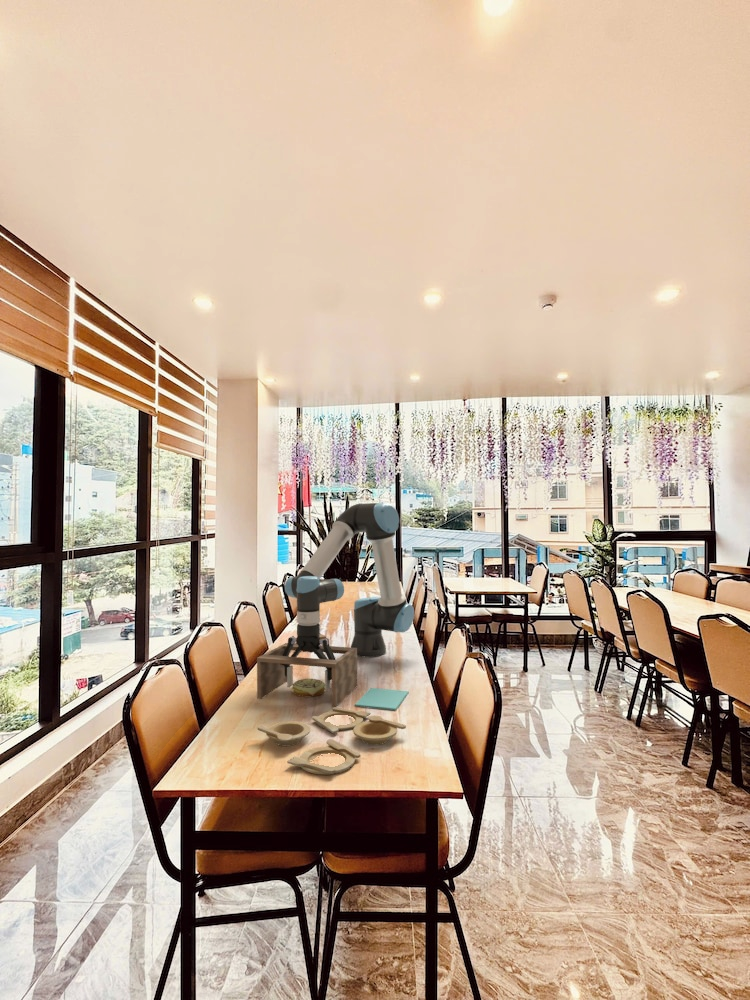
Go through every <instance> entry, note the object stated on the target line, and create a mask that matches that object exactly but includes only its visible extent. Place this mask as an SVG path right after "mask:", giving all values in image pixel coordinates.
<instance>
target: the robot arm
mask: <svg viewBox="0 0 750 1000" xmlns="http://www.w3.org/2000/svg"><path fill="white" fill-rule="evenodd" d="M399 524H400V517H399V513H398V511H397V509H396V507H395V506H394V505H392V504H391V503H387V502H385V503H384V502H372V503H371V502H370V503H368V502H367V503H356V504H353V505H351V506H349V507H348V508H346V509H345V510H344V511H343V512H342V513H341V514H340V515H339V516H337V518H336V519H335V520H334V521H333V523H332V526H331V527H332V528H331V530H330V531H329V533H328V534H327V535H326V537H325V538H324V539H323V541H322V542H321V543H320V545H319V546H318V548H317V549H316V550H315V551H314V553H313V554H312V556H311V557H310V559H308V561H307V563H306V564H305V565H304V566H303V568H302V569H301V571H300V572H299V573H298V575H297V576H291V577H289V578H287V579H286V580H285V583H284V592H285V594H286V595H287V596H288V597H289V598H294V599H296V623H297V625H296V635H297V636H296V637H295V636H294V635H291V636H290V637H288V639H287V643H288V645H287V647H286V649H285V651H284V653H283V655H282V656H289V657H299V654H301V652H303V653H306V652H307V653H311V654H312V653H314V655H316V656H317V659H327V660H336V657H335V653H333V652H332V650H331V648H330V639H329V638H327V637H326V639H322V640H320V637H319V636H320V633H321V629H320V626H321V624H320V622H321V617H320V615H321V614H320V607H321V605H320V604H322V603H324V604H325V603H328V602H334V601H337V600H340V599H341V598H342V597H343V596H344V593H345V586H344V584H343V581H341V579H338V578H330V579H326V578H325V579H323V578H322V577H323V576H324V574H325V573H326V572H327V570H328V568H329V567H330V566H331V564H333V562H334V560H335V558H336V557H337V556H338V554H339V553H340V551H341V550H342V549H343V548H344V546H345V544H346V543H347V542H348V540H351V539H353V538H354V536H355V535H356V534H359V533H365V537H366V540H368V541H369V542H370V544H371V548H372V555H373V560H374V566H375V572H376V577H377V583H378V588H379V589H378V590H379V594H380V596H370V597H363V598H358V599H356V600H355V601H354V607H353V614H354V615H353V618H354V619H353V622H354V623H353V626H354V635H353V638H352V641H351V645H350V648H357V657H362V656H365V658H367V657H368V658H371V657H379V656H382V655H385V654H386V653H387V646H386V643H385V640H384V637H383V633H382V631H386V632H387V631H388V632H394V633H406V632H408V631H409V630H410V628H411V626H412V625H413V621H414V617H415V609H414V606H413V605H412V604H410V603H407V598H406V595H404V594H403V593H402V587H401V583H400V577H399V571H398V564H397V558H396V553H395V547H394V541H393V539H394V538H395V536H396V531H398V529H399ZM320 643H321V644H322V645H321V646H323V648H324V650H325V652H322V649H321V648H320V647H319V645H320ZM294 644H298V647H297V649H296V650H294V651H293V653H292V654H291V655H290V653H291V652H292V650H291V649H292V647H293V645H294ZM325 654H326V655H325ZM279 664H280V665H284V666H285V676H287V682H286V687H287V688H292V686H293V683H294V680H293V679H294V674H293V673H294V668H293V667H294V666H293V664H281V663H279ZM331 681H332V668H330V667H325V670H324V683H325V691H324V692H328V691H330V689H331Z"/></svg>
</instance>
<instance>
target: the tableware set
mask: <svg viewBox="0 0 750 1000" xmlns="http://www.w3.org/2000/svg"><path fill="white" fill-rule="evenodd" d="M331 710H332V711H327V712H323V713H322V714H320V715H318V716H317V715H313V716H312V720H313V721H314V722H316V724H317V725H318V726H319V727H321V728H323V729H326V730H328V731H329V732H330V733H332V734H337V733H338V732H339V731H346V730H351V729H353V730H352V731H353V734H354V736H355V737H357V738H358V739H360V740H363V741H362V742H363V743H365V744H367V743H368V745H371V744H378V745H382V743H383V744H385V743H387V742H388V741H389V739H391V738H393V737H395V736H396V735H397V732H398V729H401V730H404V729H406V728H407V725H406V724H404V723H399V722H396V721H392V720H389V719H388V720H387V719H384V718H383V717H382V716H380V715H374V714H373V715H371V712H369V711H368V712H367V711H361V710H360V711H359V710H358V711H357V710H356V711H355V710H351V709H346V708H343V707H339V706H336V707H332V709H331ZM334 715H348V716H351V717H353V718H354V719H355V721H354V722H353V723H352V722H351V724H347V725H339V726H336V725H333V724H331V723H330V722H325V720H326V719H327V718H328V717H331V716H334ZM364 718H367V719H368V721H364ZM256 729H257V731H259V732H262V733H264V734H266V736H267V737H268V738H269V739H271V740H273V741H274V743H275V744H276V743H277V744H276V745H278V744H279V745H278V746H281V745H286V746H285V747H288V746H287V745H291V746H294V745H293V744H295V745H297V743H298V744H299V743H300V742H301V741H302V740H303V738H304V737H306V736H308V735H309V734H310V732H311V730H312V729H311V727H310V725H308V724H307V723H305V722H303V721H296V720H295V721H294V720H288V721H279V722H276V723H273V724H272V725H270V726H268V727H267V726H265V725H259V726H257V728H256ZM326 744H327V745H326V746H317V747H314V748H311V749H308V750H306V751H305V752H303V753H302V754H301V755H300V756H293V757H292V758H290V759H289V760H287V762H286V763H287V764H289V765H292V766H296V767H300V768H301V769H302V770H303V771H305V772H308V773H311V774H314V775H334V773H336V774H339V773H338V772H340V773H343V772H346V771H348V770H350V767H351V768H352V767H353V766H354V764H355V762H356V759H359V758H360V759H361V753H360V752H358V751H356V750H354V749H352V748H350V747H349V746H347V745H344V744H342V743H340V742H338V741H337V740H335V739H333V738H329V739H327V740H326ZM328 753H330V754H331V753H335V754H339V755H341V756H343V757H344V758H345V762H344V763H342V764H340V765H338V766H335V767H329V766H324V765H319V764H315V763H310V762H312V761H310V760H313V759H315V758H316V757H317V756H320V755H321V754H328ZM321 756H323V755H321ZM318 758H319V757H318ZM313 761H314V760H313ZM347 769H348V770H347ZM345 770H346V771H345ZM342 771H343V772H342Z"/></svg>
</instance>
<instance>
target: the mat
mask: <svg viewBox="0 0 750 1000" xmlns="http://www.w3.org/2000/svg"><path fill="white" fill-rule="evenodd" d="M407 694H408V695H409V690H401V689H400V690H398V689H388V688H378V687H370V688H369V689H368V690H367V691H366V692H365V693H364V694H363V695H362V697H361V698H359V699H358V701H356V703H354V707H356V706H361V707H360V708H366V707H369V708H368V709H375V708H379V709H378V710H385V709H390V710H389V711H395V710H396V711H397V710H398V709H399V707H400V706H401V704H402V703H403V702H404V700H405V699H404V698H406V697H407V696H408V695H407ZM402 701H403V702H402ZM397 708H398V709H397Z"/></svg>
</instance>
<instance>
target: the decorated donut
mask: <svg viewBox="0 0 750 1000" xmlns="http://www.w3.org/2000/svg"><path fill="white" fill-rule="evenodd" d="M291 689H292V691H293V693H294V694H295V695H296V696H299V697H304V698H306V697H317V696H321V695H323V694H324V693H325V692H326V691H325V681H322V680H321V679H317V678H301V679H299V680H296V681H295V682H293V685H292V686H291Z"/></svg>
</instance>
